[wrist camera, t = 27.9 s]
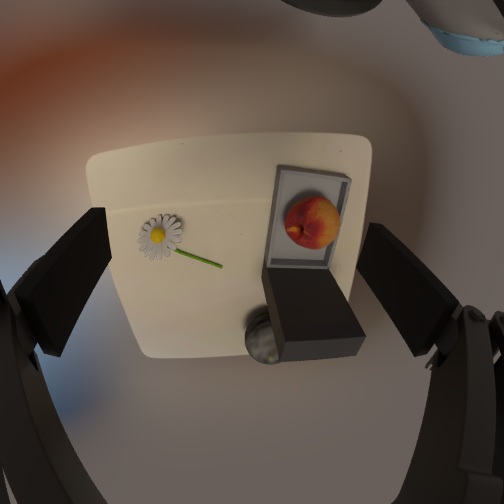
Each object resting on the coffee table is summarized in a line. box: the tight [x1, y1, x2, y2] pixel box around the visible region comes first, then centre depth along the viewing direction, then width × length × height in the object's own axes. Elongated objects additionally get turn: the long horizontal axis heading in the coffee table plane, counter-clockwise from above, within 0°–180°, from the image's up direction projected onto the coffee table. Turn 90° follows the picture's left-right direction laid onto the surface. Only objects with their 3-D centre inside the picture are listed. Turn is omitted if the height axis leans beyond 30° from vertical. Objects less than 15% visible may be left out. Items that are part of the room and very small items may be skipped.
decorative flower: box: [137, 215, 222, 268], centre depth 42 cm, size 8×6×15 cm
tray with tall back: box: [261, 166, 366, 362], centre depth 37 cm, size 20×11×19 cm, turn 174°
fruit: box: [284, 196, 340, 250], centre depth 39 cm, size 8×8×8 cm
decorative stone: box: [245, 314, 281, 365], centre depth 51 cm, size 10×10×10 cm
